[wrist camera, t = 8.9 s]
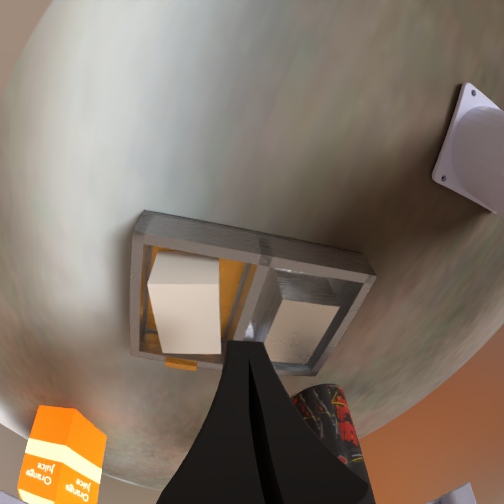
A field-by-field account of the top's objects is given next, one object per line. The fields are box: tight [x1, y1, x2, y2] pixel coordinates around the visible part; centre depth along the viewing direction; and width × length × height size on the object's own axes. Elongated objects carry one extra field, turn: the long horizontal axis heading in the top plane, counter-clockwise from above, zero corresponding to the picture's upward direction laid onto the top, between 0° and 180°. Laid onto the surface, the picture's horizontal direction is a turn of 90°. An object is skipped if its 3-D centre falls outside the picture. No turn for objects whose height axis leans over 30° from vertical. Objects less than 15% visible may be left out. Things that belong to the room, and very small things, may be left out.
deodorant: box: [293, 384, 373, 493], centre depth 25 cm, size 6×6×15 cm
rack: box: [130, 210, 377, 376], centre depth 21 cm, size 15×11×3 cm
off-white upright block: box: [147, 251, 221, 354], centre depth 19 cm, size 4×6×4 cm, turn 178°
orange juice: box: [17, 405, 107, 504], centre depth 25 cm, size 8×9×20 cm
